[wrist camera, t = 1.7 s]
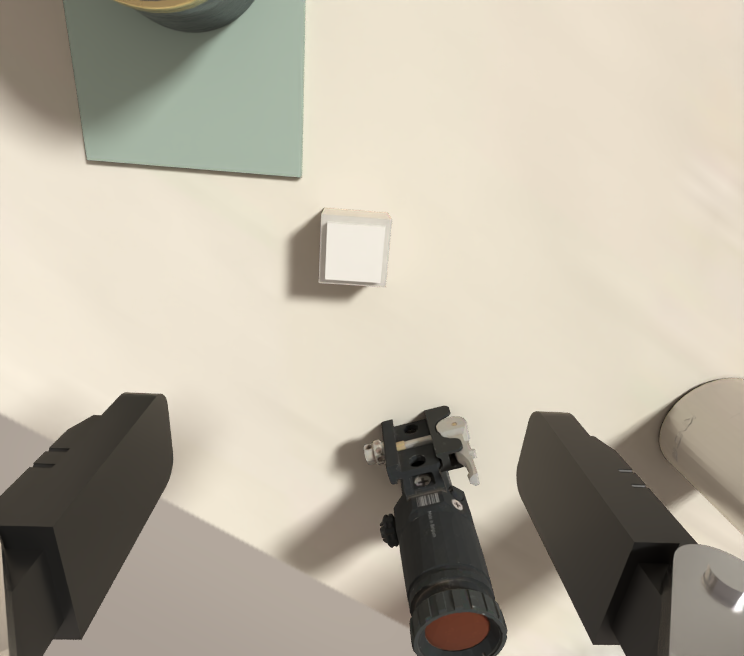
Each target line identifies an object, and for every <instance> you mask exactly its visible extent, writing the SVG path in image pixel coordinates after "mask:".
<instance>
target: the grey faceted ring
mask: <svg viewBox="0 0 744 656" xmlns="http://www.w3.org/2000/svg"><path fill="white" fill-rule="evenodd" d="M113 1H115V2H117V3H119V4H121V5H124V6H127V7H130V8H133V9H134V10H136V11H137V12H139V13H140V14H142V15H143V16H145V17H147V18H148V19H150V20H151V21H153V22H155V23H157V24H159V25H161V26H163V27H166V28H169V29H172V30H175V31H181V32H187V33H201V32H209V31H213V30H216V29H220V28H222V27H224V26H226V25H228V24H230V23H232V22H233V21H235V20H236V19H237V18H239V17H240V16H241V15H242V14H243V13H244V12H245V11H246V10H247V9H248V8H249V7H250V6H251V4H252V3H253V2H254V1H255V0H113Z"/></svg>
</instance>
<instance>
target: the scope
mask: <svg viewBox="0 0 744 656" xmlns="http://www.w3.org/2000/svg"><path fill="white" fill-rule="evenodd" d="M424 412H425V416H426V419H427V420H425V419H424V420H420V421H416V422H412V423H407V424H403V425H399V426H395V427H394V426H393V420H388V421H384V422H382V432H383V442H381V441H380V440H375V441H373V443H371V444H367V445H364V454H365V458H366V461H367V463H368V465H371V464H375V463H377V464H378V465H380V464H384V463H385V465H386V469H387V473H388V476H389V479H390V482H391V484H398V483H397V480H398V479H400V481H401V488H402V496H401V498H400V499H399V501H398V502H397V504H396V505H395V507H394V515H395V517H394V516H393V515H392V514H389V515H384V517H383V521H382V522H381V524H380V526H382V527H381V528H380V531H381V536H382V538H385V539H383V541H384V542H386V543H388V545H389V546H390V547H391V548H393V547H394V546H396V547H397V546H398V545H399V546H400V554H401V560H402V567H403V573H404V579H405V586H406V592H407V598H408V602H409V608H410V613H411V616H412V617H411V619H410V634H411V642H412V647H413V651H414V652H415V653H416V654H417V656H496V655H497V654H498V653H499V652H500V651H501V650H502V648H503V647H504V645H505V642H506V639H507V635H506V634H507V627H506V624H505V620H504V617H503V614H502V611H501V609H500V608H499V605H498V603H497V602H496V601H495V597H494V593H493V589H492V585H491V581H490V578H489V574H488V570H487V566H486V563H485V559H484V556H483V552H482V549H481V546H480V543H479V539H478V536H477V533H476V530H475V527H474V523H473V519H472V516H471V512H470V509H469V506H468V503H467V500H466V497H465V494H464V492H463V491H462V490H460V489H458V488H456V487H454V486H452V483H451V480H450V477H449V473H448V471H449V470H453V469H457V468H461V467H466V468H467V470H468V472H469V473H468V478H469V481H470V484H473V485H475V486H477V485H479V484H480V483H479V478H478V474H477V471H476V467H475V464H474V461H473V458H476V453H475V449H471V448H470V445H469V439H470V436H469V431H468V427H467V422H466V420H465V419H464V418H462V417H455V416H453V417H449V418H446V417H448V416H449V415H450V410H449V407H447V406H441V407H437V408H433V409H429V410H425V411H424ZM444 418H446V419H444ZM442 419H443V420H442ZM410 430H417V431H416V432H414V433H412V434H406V433H407V432H408V431H410ZM385 461H386V462H385Z"/></svg>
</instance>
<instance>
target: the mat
mask: <svg viewBox="0 0 744 656" xmlns="http://www.w3.org/2000/svg"><path fill="white" fill-rule="evenodd" d="M63 4H64V10H65V17H66V24H67V30H68V37H69V44H70V50H71V57H72V64H73V70H74V77H75V83H76V90H77V97H78V103H79V110H80V117H81V123H82V130H83V137H84V143H85V150H86V156H87V160H95V161H107V162H119V163H131V164H143V165H155V166H167V167H180V168H192V169H204V170H216V171H228V172H240V173H253V174H265V175H277V176H289V177H302V145H303V95H304V45H305V0H255V1H254V2H253V3H252V4H251V6H250V7H249V8H248V9H247V10H246V11H245V12H244V13H243V14H242V15H241V16H240V17H239V18H237V19H236V20H235V21H233V22H232V23H230V24H228V25H226V26H224V27H222V28H220V29H216V30H213V31H209V32H201V33H187V32H181V31H175V30H172V29H169V28H166V27H163V26H161V25H159V24H157V23H155V22H153V21H151V20H150V19H148V18H147V17H145V16H143V15H142V14H140V13H139V12H137V11H136V10H134V9H133V8H130V7H127V6H124V5H121V4H119V3H117V2H115V1H113V0H63Z"/></svg>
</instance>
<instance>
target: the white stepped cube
mask: <svg viewBox="0 0 744 656" xmlns="http://www.w3.org/2000/svg"><path fill="white" fill-rule="evenodd" d="M391 226H392V218H391V217H390V215H389V213H388V212H375V211H362V210H350V209H337V208H324V210H323V212H322V214H321V235H320V263H319V283H327V284H343V285H358V286H373V287H386V279H387V268H388V258H389V247H390V237H391Z"/></svg>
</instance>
